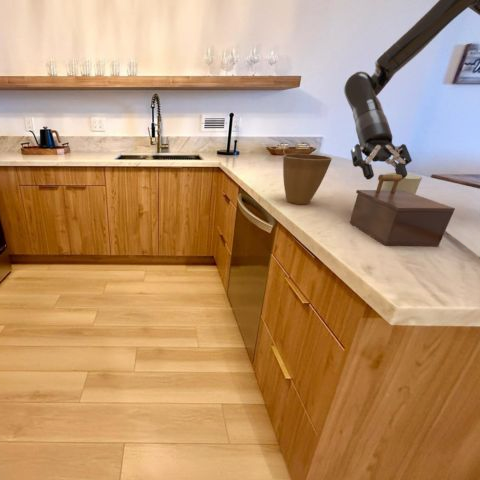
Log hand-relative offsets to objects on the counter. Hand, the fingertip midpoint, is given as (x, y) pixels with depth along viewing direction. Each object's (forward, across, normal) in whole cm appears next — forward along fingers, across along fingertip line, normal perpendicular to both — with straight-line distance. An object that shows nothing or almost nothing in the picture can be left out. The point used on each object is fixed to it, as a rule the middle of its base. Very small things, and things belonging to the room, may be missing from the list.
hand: (386, 178), depth 78 cm
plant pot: (-6, -13, +25) cm, 28 cm away
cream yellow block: (+1, +14, +18) cm, 23 cm away
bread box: (+15, 0, +4) cm, 15 cm away
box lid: (+8, 0, -2) cm, 8 cm away
